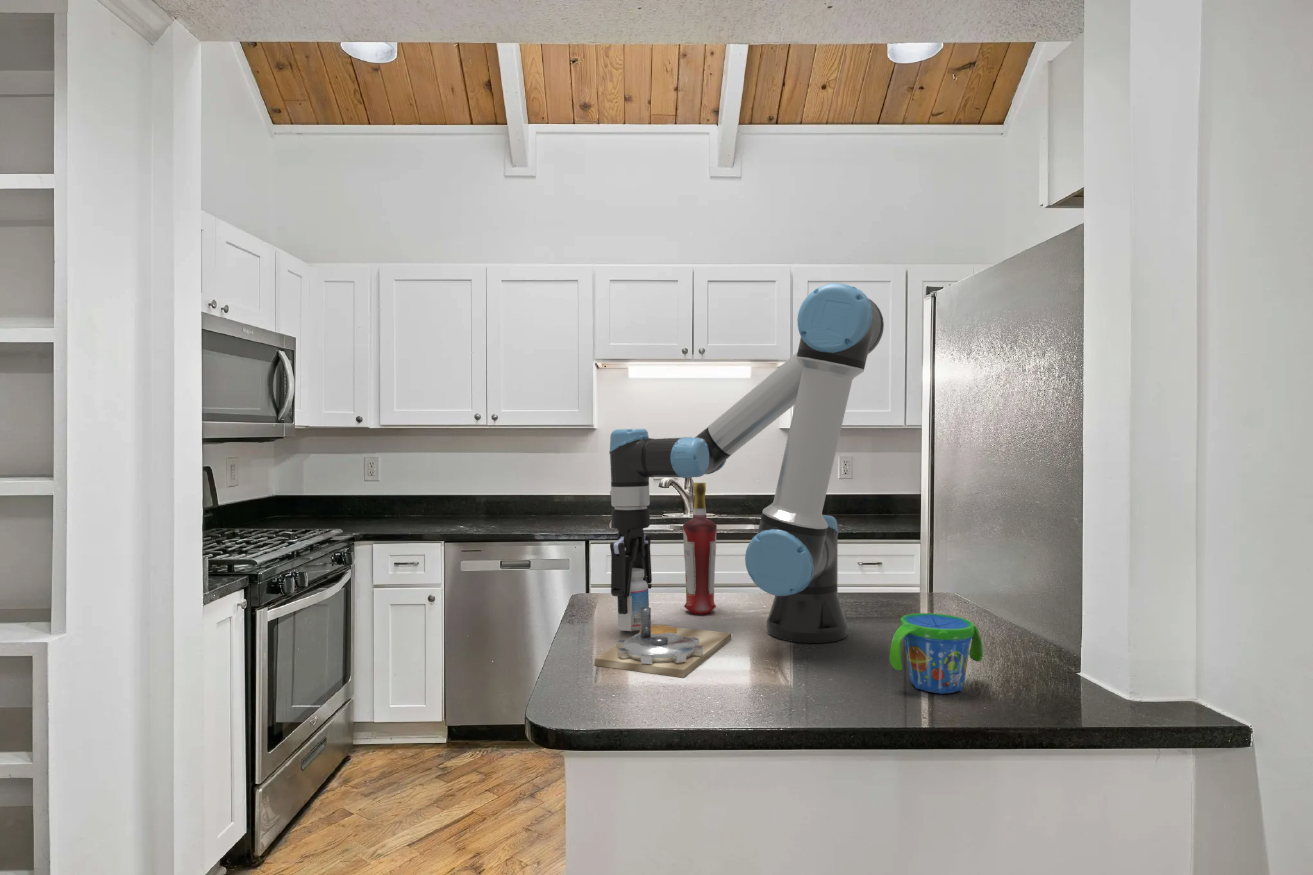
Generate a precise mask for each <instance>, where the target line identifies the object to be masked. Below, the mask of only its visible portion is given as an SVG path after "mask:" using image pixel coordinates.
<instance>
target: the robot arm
mask: <svg viewBox="0 0 1313 875" xmlns="http://www.w3.org/2000/svg"><path fill="white" fill-rule="evenodd" d="M796 321H797V330H798V333H799V335H800V339H799V344H798V349H797V352H796V353H794V354H793V355H792V356H790V358H788V359H787V360H786V361H785V362H783V364H781V365H780V366H778V368H776V369H775V370H774V371H773V372H772V373H770V374H769V375H768V376H767V377H766V378H765V379H763V380H762V381H761V382H760V383H758V384H757V385H756V386H755V387H754V388H752V389H751V390H750V391H749V392H748V393H746V394H745V395H744V396H743V397H741V398H740V399H739V400H738V401H737V402H736V403H735V404H733V405H732V406H731V407H730V408H728V409H727V410H726V411H725V412H724V413H722V414H721V415H720V416H719V417H718V418H716V419H715V420H714V421H713V422H711V423H710V424H709V425H708V426H707V427H706V428H705V429H704V430H702V431H701V432H699V433H698V434H697V435H696V436H695V437H692V436H683V437H666V438H665V437H664V438H663V437H662V438H651V437H650V436H649V432H648V430H647V429H645V428H629V429H628V428H624V429H623V428H621V429H614V430H613V431H611V433H610V436H609V437H610V439H609V440H610V442H609V460H610V491H609V494H610V499H611V503H610V504H611V507H613V508H612V509H611V513H610V514H611V527H612V529H614V530H615V529H617V531H618V534H617V539H616V542H610V545H609V549H610V555H611V559H610V562H611V563H610V564H611V565H610V566H611V568H610V570H611V572H610V594H611V595H612V597H617V630H619V631H624V632H625V631H627V632H632V631H634V630H633V627H632V596H629V594H630V585H631V576H632V568H641V569H644V578H643V580H644V581H646V582H647V584H648V590H649V589H651V588H652V587H653V584H652V581H653V578H652V577H653V576H652V561H651V560H652V558H651V541H652V536H651V534H645V532H644V529H648V528H649V527H650V526H651V516H650V515H651V512H650V511H651V510H650V509H649V508H648V507H647V506H650V504H651V501H650V500H651V499H650V478H682V479H690V478H691V479H692V478H701V477H703V476H704V475H710V474H713V473H715V472H718V471H719V470H721V469H722V468H723V467H724V466H725V464H726V463H727V460H728V459H729V458H730V457H731V456H732V455H734V454H735V453H736V452H738V450H739V449H741V448H742V447H743V446H745V445H746V444H747V443H748V442H750V441H751V440H752V439H753V438H755V437H756V436H757V435H758V434H760V433H761V432H762V431H764V430H765V429H766V428H767V427H768V426H770V425H771V424H772V423H773V422H775V421H776V420H777V419H778V418H780V417H781V416H782V415H783V414H786V412H788V410H790V409H791V408H792V407H793V413H792V416H791V422H790V426H789V429H788V435H787V440H786V444H785V449H784V452H783V458H782V463H781V467H780V471H779V476H778V480H777V484H776V488H775V493H774V496H773V497H774V498H773V502H772V503H770V504H769V505H767V507H765V508H763V510H762V512H761V516H760V519H759V520H760V521H759V524H758V529H757V534H755V535H754V536H753V537H752V538H751V541H750V542H749V543H748V545H747V546H746V550H745V554H744V556H745V557H744V561H745V562H744V563H745V568H746V571H747V574H748V575H749V577H750V579H751V580H752V582H753V583H754V584H755V585H756V586H757V587H758V588H759V589H760V590H761V591H763V592H765V593H767V594H769V595H773V596H774V599H773V600H772V601H773V602H772V604H771V607H770V611H769V614H768V618H767V620H766V621H767V622H766V623H767V625H766V626H767V628H766V630H767V633H768V634H769V635H770V636H772V637H774V638H776V639H780V640H785V641H786V642H787V641H788V642H795V643H804V644H805V643H806V644H822V643H831V642H833V643H834V642H838V641H841V640H843V639H846V637H847V636H848V622H847V620H846V616H845V614H844V610H843V607H842V605H841V601H840V597H839V594H838V559H839V558H838V553H839V552H838V548H839V546H838V542H839V541H838V538H839V530H838V522H837V519H836V518H835V516H832V515H828V514H827V515H825V514H823V509H824V505H825V501H826V495H827V492H828V488H829V485H830V484H829V483H830V481H831V480H830V479H831V474H832V470H833V466H834V461H835V458H836V457H835V456H836V454H837V453H836V452H837V448H838V444H839V440H840V435H841V432H842V428H843V427H842V426H843V423H844V420H845V414H846V409H847V406H848V400H849V396H850V392H851V388H852V385H853V384H852V383H853V380H854V379H855V378H856V377H858V376H859V375H861V374H862V373H864V371H865V367H866V363H867V359H868V355H869V354H870V353H872V352H873V351H874V350H875V349H876V348H877V346H878V345H879V344H880V341H881V339H882V337H883V334H884V329H885V328H884V327H885V323H884V317H883V314H882V312H881V310H880V308H879V307H878V305H877V304H876V303H875V302H874V301H873V300H872V299H870V298H868V296H867V295H866V294H865V293H864V292H863V290H861V289H860V288H857V287H855V286H851V285H849V284H845V283H838V282H835V283H833V282H832V283H826V284H824V285H821V286H819V287H818V288H815V289H814V290H813V291H812V292H810V293H809V294H808V295H807V296H806V297H805V299H804V300H803V301H802V303H801V305H800V307H799V310H798V312H797V320H796Z"/></svg>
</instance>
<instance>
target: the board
mask: <svg viewBox="0 0 1313 875" xmlns="http://www.w3.org/2000/svg"><path fill="white" fill-rule="evenodd" d="M673 627H674V628H676V629H677V633H676V635H680V636H684V637H688V638H690V637H695V638H697V639H699V646H703V654H702V655H701V656H696V655H693V656H692V657H690V658H687V659H686V662H681V663H675V662H653V663H652V664H643V663H641V661H638V660H634V659H631V658H623V659H622V658H620V657H619V656H618V650H617V649H616V645H615V646H614V647H612V648H610V649H608V650H606V651H605V652H602V654H599V655H598V656H596V657H594V666H597V667H605V668H611V669H618V670H624V671H633V672H641V673H647V674H654V675H655V674H656V675H660V676H661V675H662V676H668V677H669V676H670V677H677V678H685V677H686V676H688V675H689V674H690V673H691V672H693V671H694V670H695V669H696V668H698V667H699V666H700V665H702V664H703V663H704V662H705V661H706V660H707V659H709V658H710V657H711V656H712V655H714V654H715V653H716V652H718V651H719V650H720V649H721V648H722V647H724V646H725V645H727V643H729V642H730V641H731V640H732V633H731V632H724V631H716V630H715V631H714V630H705V629H697V628H690V627H689V628H687V627H678V626H673ZM637 634H641V633H640V632H638V633H637ZM632 637H635V635H633V636H632Z"/></svg>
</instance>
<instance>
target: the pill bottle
mask: <svg viewBox="0 0 1313 875" xmlns="http://www.w3.org/2000/svg"><path fill="white" fill-rule="evenodd" d="M643 578H644V569H641V568H632V576H631V585H630V594H629V596H632V627H633V630H632V631H640V628H641V608H642V607H649V608H650V600H649V598H650V596H649V589H648V584H649V583H648V584H647V582H646V581H644V580H643Z"/></svg>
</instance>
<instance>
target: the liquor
mask: <svg viewBox="0 0 1313 875" xmlns="http://www.w3.org/2000/svg"><path fill="white" fill-rule="evenodd" d="M692 483H693V485H692V486H693V488H692V490H693V495H694V498H693V499H694V500H693V512H692V518H691V519H688V520H687V521H686V522H684V523H683V525H682V536H683V538H682V539H683V555H684V571H685V572H684V573H685V601H686V602H685V604H684V608H685V610H687V611H688V612H689V613H690V614H692V615H698V616H699V615H701V616H703V615H704V616H705V615H708V614H709V615H710V614H711V613H712V612H713V611H714V609H716V607H717V605H716V603H715V570H716V569H715V568H716V554H717V553H716V551H717V529H718V528H717V527H718V525H717V524H716V523H715V522H714V521H712V520H710V519H709V518H708V517H707V509H706V508H707V507H706V498H705V496H706V492H707V488H706V487H707V486H706V484H707V483H706V482H702V481H701V482H699V481H698V482H692Z"/></svg>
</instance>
